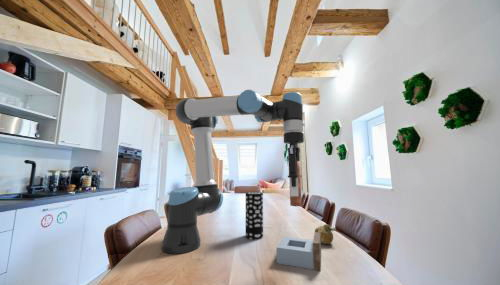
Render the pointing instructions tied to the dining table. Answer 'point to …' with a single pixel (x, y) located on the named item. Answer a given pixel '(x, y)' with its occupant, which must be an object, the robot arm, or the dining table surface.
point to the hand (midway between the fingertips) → (295, 195)
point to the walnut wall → (317, 251)
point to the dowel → (297, 199)
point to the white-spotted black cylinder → (254, 215)
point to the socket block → (295, 252)
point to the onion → (325, 233)
